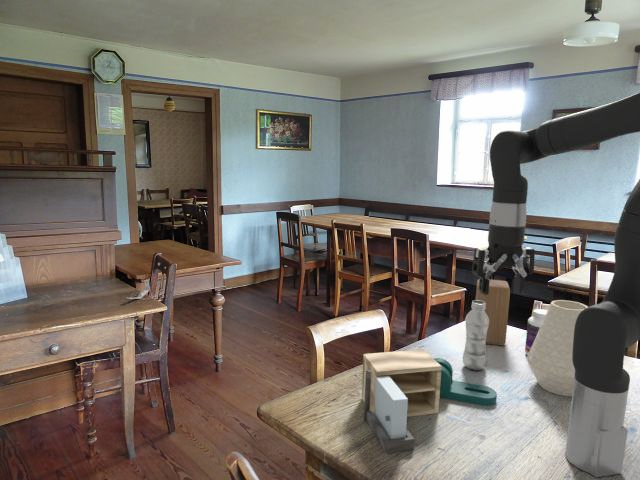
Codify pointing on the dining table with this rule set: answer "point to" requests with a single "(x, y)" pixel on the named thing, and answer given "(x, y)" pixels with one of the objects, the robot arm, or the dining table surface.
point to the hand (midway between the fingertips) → (501, 293)
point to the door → (390, 408)
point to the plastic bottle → (476, 336)
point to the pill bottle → (534, 327)
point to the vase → (556, 348)
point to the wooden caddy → (411, 378)
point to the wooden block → (496, 310)
